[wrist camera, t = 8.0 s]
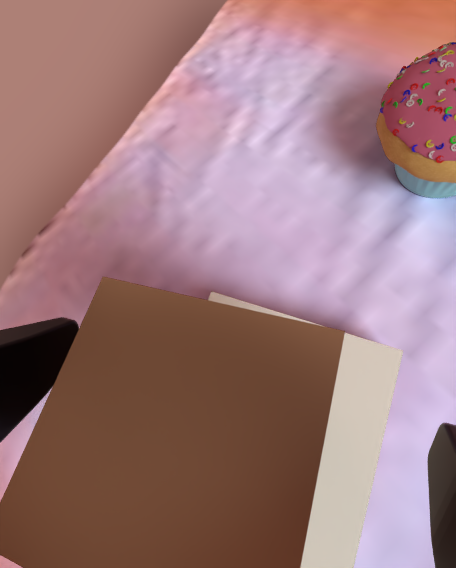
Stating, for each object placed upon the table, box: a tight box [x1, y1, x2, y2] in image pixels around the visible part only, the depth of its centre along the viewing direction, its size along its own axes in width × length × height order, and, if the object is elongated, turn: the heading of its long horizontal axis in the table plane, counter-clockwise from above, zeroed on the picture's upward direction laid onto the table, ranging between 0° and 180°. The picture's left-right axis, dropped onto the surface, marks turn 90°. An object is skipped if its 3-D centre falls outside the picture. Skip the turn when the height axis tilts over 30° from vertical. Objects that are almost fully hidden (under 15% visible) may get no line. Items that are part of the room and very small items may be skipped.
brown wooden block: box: [0, 277, 345, 568], centre depth 11 cm, size 4×4×12 cm
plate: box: [208, 291, 403, 568], centre depth 17 cm, size 12×10×2 cm
